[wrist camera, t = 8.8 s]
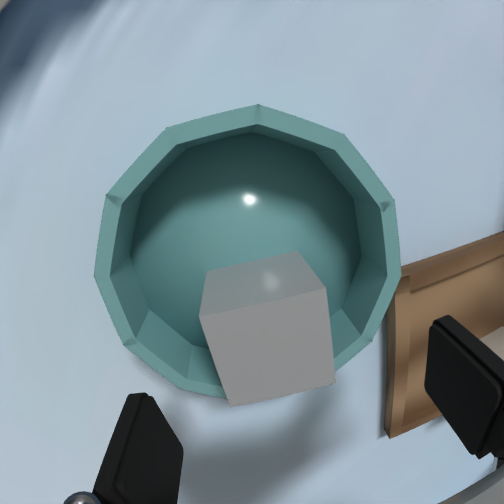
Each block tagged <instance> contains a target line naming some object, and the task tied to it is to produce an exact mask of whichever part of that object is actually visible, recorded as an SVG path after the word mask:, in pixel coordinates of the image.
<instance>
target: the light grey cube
mask: <svg viewBox="0 0 504 504" xmlns="http://www.w3.org/2000/svg"><path fill="white" fill-rule="evenodd" d="M199 319H200V322H201V325H202V328H203V331H204V334H205V337H206V340H207V343H208V346H209V349H210V352H211V355H212V358H213V361H214V363H215V366H216V369H217V372H218V375H219V378H220V380H221V383H222V386H223V388H224V391H225V394H226V397H227V399H228V402H229V405H230V407H232V406H238V405H244V404H249V403H254V402H259V401H264V400H269V399H273V398H278V397H282V396H287V395H291V394H295V393H299V392H303V391H307V390H311V389H315V388H318V387H322V386H325V385H329V384H333V383H336V380H335V368H334V356H333V346H332V336H331V326H330V317H329V308H328V300H327V292H326V287H325V286H324V285H323V283H322V282H321V281H320V279H319V278H318V277H317V275H316V274H315V273H314V271H313V270H312V269H311V267H310V266H309V265H308V263H307V262H306V261H305V260H304V258H303V257H302V256H301V254H300V253H299V252H298V251H294V252H289V253H285V254H281V255H276V256H272V257H267V258H263V259H258V260H254V261H250V262H245V263H241V264H236V265H232V266H227V267H223V268H218V269H214V270H210V271H207V272H206V278H205V283H204V289H203V295H202V301H201V306H200V312H199Z"/></svg>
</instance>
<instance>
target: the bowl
mask: <svg viewBox="0 0 504 504" xmlns="http://www.w3.org/2000/svg"><path fill="white" fill-rule="evenodd" d="M294 251H298V252H299V253H300V254H301V256H302V257H303V258H304V260H305V261H306V262H307V263H308V265H309V266H310V267H311V269H312V270H313V271H314V273H315V274H316V275H317V277H318V278H319V279H320V281H321V282H322V283H323V285H324V286H325V287H326V292H327V300H328V308H329V317H330V326H331V336H332V346H333V356H334V368H335V371H337V370H338V369H339V368H341V367H342V366H343V365H344V364H345V363H347V362H348V361H349V360H350V359H352V358H353V357H354V356H355V355H356V354H358V353H359V352H360V351H361V350H362V349H363V348H365V347H366V346H367V345H368V344H369V343H370V342H372V340H373V338H374V336H375V334H376V332H377V330H378V328H379V325H380V323H381V321H382V319H383V317H384V315H385V313H386V310H387V308H388V306H389V304H390V301H391V299H392V297H393V294H394V292H395V290H396V287H397V285H398V283H399V280H400V278H401V261H400V248H399V236H398V226H397V217H396V208H395V200H394V199H393V197H392V196H391V195H390V193H389V192H388V190H387V189H386V188H385V186H384V185H383V183H382V182H381V181H380V179H379V178H378V177H377V175H376V174H375V173H374V171H373V170H372V169H371V167H370V166H369V165H368V163H367V162H366V161H365V160H364V158H363V157H362V156H361V154H360V153H359V152H358V151H357V149H356V148H355V147H354V146H353V144H352V143H351V142H350V141H349V140H348V138H347V137H346V136H345V135H344V134H342V133H339V132H337V131H334V130H332V129H329V128H327V127H324V126H321V125H319V124H316V123H313V122H310V121H308V120H305V119H302V118H299V117H296V116H293V115H290V114H287V113H284V112H281V111H278V110H275V109H272V108H269V107H265V106H262V105H260V104H257V105H253V106H248V107H244V108H239V109H235V110H230V111H226V112H222V113H218V114H214V115H210V116H206V117H202V118H199V119H195V120H191V121H188V122H184V123H181V124H178V125H174V126H171V127H167V128H166V129H165V130H164V131H163V132H162V133H161V134H160V135H159V136H158V137H157V138H156V139H155V140H154V141H153V142H152V143H151V144H150V145H149V147H148V148H147V149H146V150H145V151H144V152H143V153H142V154H141V155H140V156H139V157H138V158H137V160H136V161H135V162H134V163H133V164H132V165H131V166H130V167H129V168H128V170H127V171H126V172H125V173H124V174H123V175H122V177H121V178H120V179H119V180H118V181H117V182H116V184H115V185H114V186H113V187H112V188H111V190H110V191H109V192H108V193H107V194H106V198H105V203H104V209H103V214H102V220H101V226H100V232H99V239H98V246H97V253H96V261H95V270H94V278H95V280H96V283H97V286H98V288H99V291H100V293H101V296H102V298H103V300H104V303H105V305H106V307H107V310H108V312H109V314H110V317H111V319H112V321H113V324H114V326H115V328H116V330H117V332H118V334H119V337H120V339H121V341H122V343H123V345H124V346H125V347H126V348H128V349H129V350H130V351H131V352H132V353H134V354H135V355H136V356H137V357H139V358H140V359H141V360H142V361H144V362H145V363H146V364H148V365H149V366H150V367H151V368H153V369H154V370H155V371H157V372H158V373H159V374H161V375H162V376H163V377H165V378H166V379H167V380H169V381H170V382H171V383H173V384H174V385H176V386H177V387H178V388H180V389H183V390H187V391H192V392H196V393H201V394H206V395H211V396H216V397H221V398H226V399H227V397H226V394H225V391H224V388H223V386H222V383H221V380H220V378H219V375H218V372H217V369H216V366H215V363H214V361H213V358H212V355H211V352H210V349H209V346H208V343H207V340H206V337H205V334H204V331H203V328H202V325H201V322H200V319H199V312H200V306H201V301H202V295H203V289H204V283H205V278H206V272H207V271H210V270H214V269H218V268H223V267H227V266H232V265H236V264H241V263H245V262H250V261H254V260H258V259H263V258H267V257H272V256H276V255H281V254H285V253H289V252H294Z"/></svg>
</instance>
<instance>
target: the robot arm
mask: <svg viewBox="0 0 504 504" xmlns="http://www.w3.org/2000/svg"><path fill="white" fill-rule="evenodd" d="M424 387H425V391H426V393H427V394H428V395H429V397H430V398H431V400H432V401H433V402H434V404H435V405H436V406H437V408H438V409H439V410H440V412H441V413H442V415H443V416H444V417H445V419H446V420H447V422H448V423H449V424H450V426H451V427H452V429H453V430H454V431H455V433H456V434H457V436H458V437H459V439H460V440H461V441H462V443H463V444H464V446H465V447H466V449H467V450H468V452H469V453H470V454H472V455H474V454H475V455H476V456H477V458H478V459H481V458H482V457H484V456H485V455H487V454H488V453H490V452H491V453H492V454H493V456H494V462H493V467H492V472H491V474H489V475H487V476H486V477H484V478H483V479H481V480H479V481H478V482H476V483H474V484H473V485H471V486H469V487H468V488H466V489H464V490H463V491H461V492H459V493H457V494H455V495H454V496H452V497H450V498H448V499H446V500H444V501H442V502H440V503H438V504H504V360H502V359H501V358H500V357H499V356H498V355H497V354H496V353H494V352H493V351H492V350H491V349H490V348H489V347H488V346H486V345H485V344H484V343H483V342H482V341H481V340H479V339H478V338H477V337H476V336H475V335H473V334H472V333H471V332H470V331H469V330H468V329H466V328H465V327H464V326H463V325H461V324H460V323H459V322H458V321H457V320H455V319H454V318H453V317H452V316H450V315H445V316H443V317H441V318H438V319H436V320H434V321H433V323H432V326H430V328H429V337H428V351H427V362H426V372H425V381H424ZM182 461H183V447H182V445H181V443H180V442H179V440H178V438H177V437H176V435H175V434H174V432H173V430H172V429H171V427H170V425H169V424H168V422H167V420H166V419H165V417H164V415H163V414H162V412H161V410H160V408H159V407H158V405H157V403H156V401H155V400H154V398H153V397H152V396H148V394H147V393H135V394H129V395H128V397H127V399H126V401H125V404H124V407H123V409H122V412H121V414H120V417H119V419H118V422H117V424H116V427H115V430H114V432H113V435H112V437H111V440H110V443H109V445H108V448H107V451H106V454H105V456H104V459H103V462H102V465H101V467H100V470H99V473H98V476H97V479H96V482H95V485H94V489H93V492H92V493H90V492H85V491H83V492H77V493H74V494H72V495H71V496H69V497H68V498H67V499H66V500H65V501H64V504H177V499H178V491H179V483H180V476H181V468H182Z"/></svg>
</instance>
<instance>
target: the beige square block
mask: <svg viewBox="0 0 504 504" xmlns="http://www.w3.org/2000/svg"><path fill="white" fill-rule="evenodd" d="M479 340H481V341H482V342H483V343H484V344H485V345H486V346H488V347H489V348H490V349H491V350H492V351H493V352H494V353H496V354H497V355H498V356H499V357H500V358H501V359H502V360H504V327H503V326H502V327H500V328H498V329H497V330H495V331H493V332H492V333H490V334H488V335H486V336H485V337H483V338H481V339H479Z"/></svg>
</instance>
